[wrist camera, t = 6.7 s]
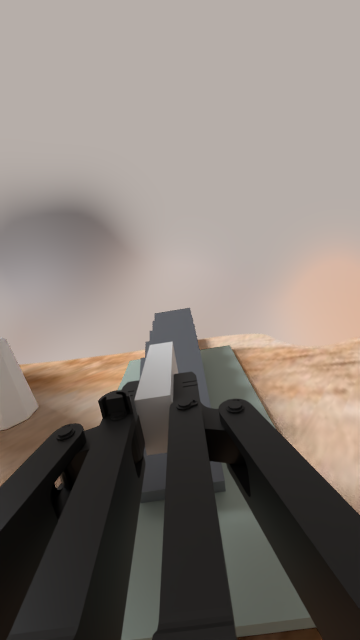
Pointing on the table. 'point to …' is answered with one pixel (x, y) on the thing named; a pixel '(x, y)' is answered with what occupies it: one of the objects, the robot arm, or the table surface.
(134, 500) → the robot arm
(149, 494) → the domino
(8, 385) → the salt shaker
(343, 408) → the table surface
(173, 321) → the domino
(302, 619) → the felt mat
